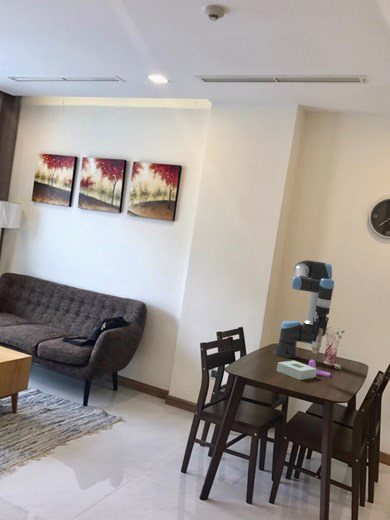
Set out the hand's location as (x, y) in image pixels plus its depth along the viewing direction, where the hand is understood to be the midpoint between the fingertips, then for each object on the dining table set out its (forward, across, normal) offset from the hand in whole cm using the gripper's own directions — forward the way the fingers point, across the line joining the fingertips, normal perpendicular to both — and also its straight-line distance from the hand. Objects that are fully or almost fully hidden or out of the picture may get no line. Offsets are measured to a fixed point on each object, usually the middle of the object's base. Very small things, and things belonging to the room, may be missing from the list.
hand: (316, 346), depth 271 cm
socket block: (+18, +3, -8) cm, 20 cm away
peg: (+3, 0, 0) cm, 3 cm away
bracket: (+19, -14, -3) cm, 24 cm away
